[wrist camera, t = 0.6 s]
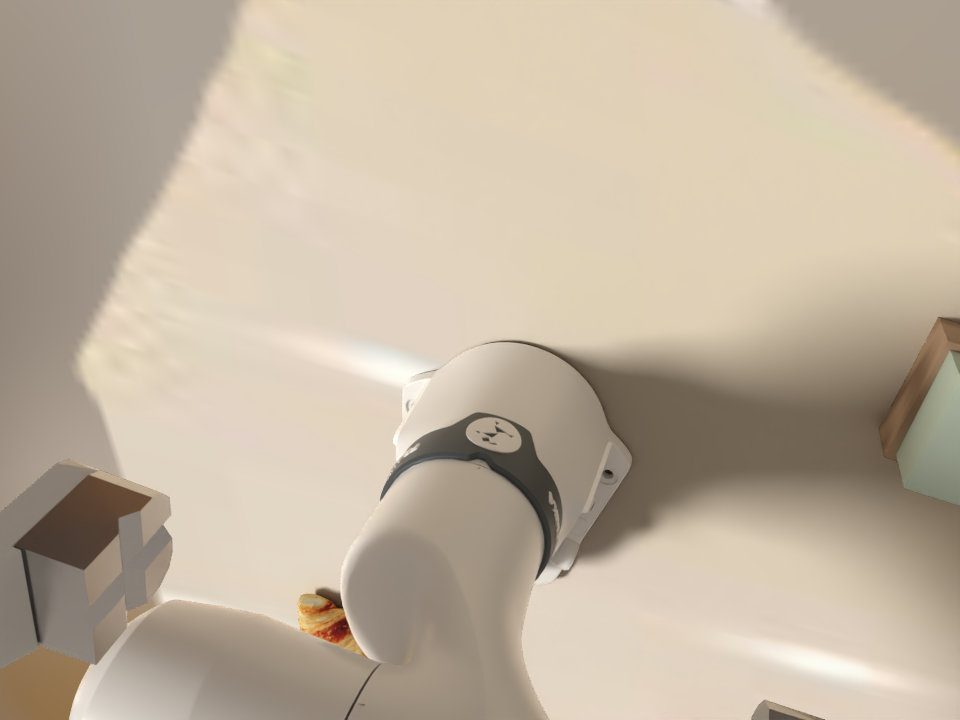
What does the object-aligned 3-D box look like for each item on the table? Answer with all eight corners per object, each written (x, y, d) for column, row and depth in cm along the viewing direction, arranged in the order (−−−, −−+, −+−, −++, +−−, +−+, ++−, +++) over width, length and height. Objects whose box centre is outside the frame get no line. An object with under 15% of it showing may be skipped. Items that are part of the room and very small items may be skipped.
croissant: (307, 576, 90) (251, 639, 86) (337, 566, 81) (277, 635, 77) (453, 717, 92) (405, 785, 88) (497, 721, 84) (447, 797, 79)
